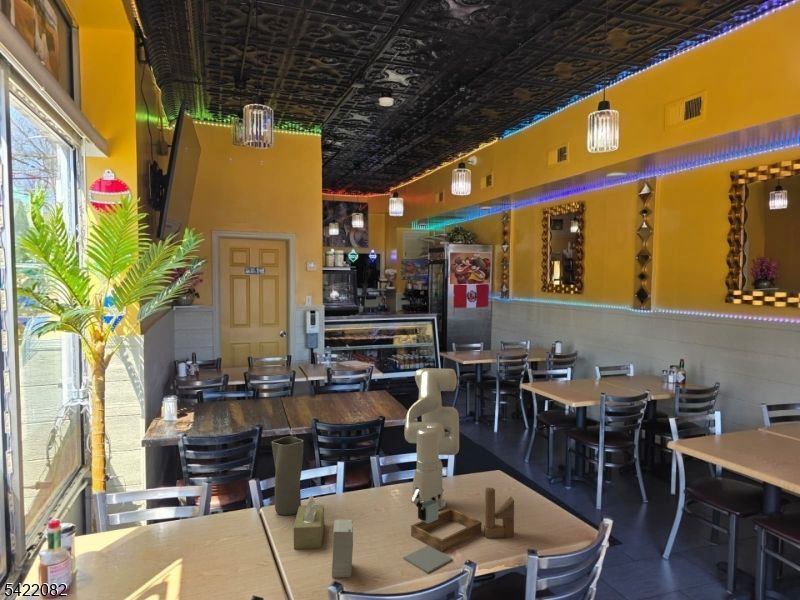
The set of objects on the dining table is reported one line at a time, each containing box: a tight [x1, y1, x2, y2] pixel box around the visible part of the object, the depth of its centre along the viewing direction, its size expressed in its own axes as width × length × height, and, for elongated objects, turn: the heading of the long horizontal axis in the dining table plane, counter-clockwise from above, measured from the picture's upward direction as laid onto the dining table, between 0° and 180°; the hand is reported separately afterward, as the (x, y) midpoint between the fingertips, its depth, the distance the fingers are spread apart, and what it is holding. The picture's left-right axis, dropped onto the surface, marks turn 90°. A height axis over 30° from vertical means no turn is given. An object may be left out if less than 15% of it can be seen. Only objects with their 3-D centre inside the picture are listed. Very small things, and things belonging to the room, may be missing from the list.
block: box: [417, 499, 439, 524], centre depth 176 cm, size 5×5×6 cm
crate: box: [410, 508, 482, 553], centre depth 194 cm, size 16×22×4 cm
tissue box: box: [292, 495, 325, 550], centre depth 193 cm, size 19×10×16 cm, turn 5°
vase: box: [271, 436, 304, 516], centre depth 214 cm, size 12×12×30 cm
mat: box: [402, 545, 453, 574], centre depth 176 cm, size 12×12×1 cm
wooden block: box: [483, 487, 515, 539], centre depth 193 cm, size 4×11×18 cm, turn 96°
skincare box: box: [331, 519, 354, 578], centre depth 169 cm, size 8×7×16 cm
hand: (427, 516), depth 176 cm, fingers closed on block, 5 cm apart
